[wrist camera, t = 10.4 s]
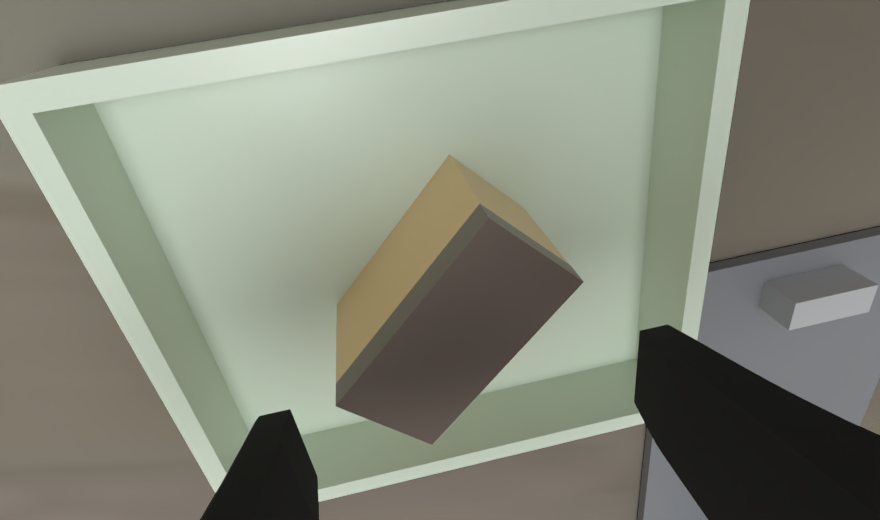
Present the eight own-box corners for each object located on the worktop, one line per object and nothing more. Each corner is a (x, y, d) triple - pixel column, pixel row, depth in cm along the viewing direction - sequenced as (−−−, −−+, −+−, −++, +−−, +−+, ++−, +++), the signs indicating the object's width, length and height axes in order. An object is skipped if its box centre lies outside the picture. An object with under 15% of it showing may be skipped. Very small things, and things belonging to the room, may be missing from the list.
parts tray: (676, -36, 14) (756, -41, 11) (642, 358, 21) (685, 413, 18) (58, 65, 12) (-18, 87, 10) (246, 449, 19) (232, 522, 17)
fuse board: (930, 215, 19) (987, 238, 18) (802, 542, 30) (829, 576, 29) (662, 273, 19) (695, 303, 17) (630, 589, 30) (648, 626, 28)
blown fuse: (523, 207, 16) (583, 281, 12) (412, 341, 17) (432, 444, 14) (449, 154, 14) (489, 218, 11) (336, 304, 16) (335, 406, 12)
